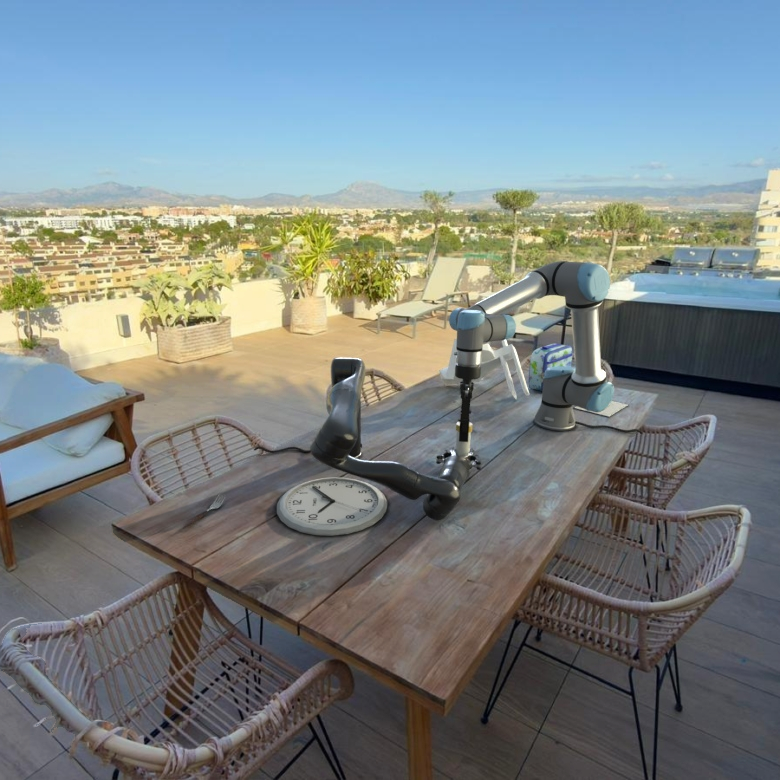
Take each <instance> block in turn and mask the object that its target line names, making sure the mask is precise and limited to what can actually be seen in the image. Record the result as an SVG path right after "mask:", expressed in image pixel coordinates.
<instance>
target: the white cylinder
mask: <svg viewBox="0 0 780 780" xmlns="http://www.w3.org/2000/svg"><path fill="white" fill-rule="evenodd" d="M471 436H472V432H470V433H469V434H468V442H460V441H459V432H458V431H456V439H455V440H456V441H455V442H456V443H455V446H456V455H458V456H464V455H465V454H469V451H470V449H471V439H472V438H471Z"/></svg>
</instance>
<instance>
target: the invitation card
mask: <svg viewBox="0 0 780 780" xmlns="http://www.w3.org/2000/svg"><path fill="white" fill-rule="evenodd" d="M628 406H629V404H627V403H623V402H618V401H614V400H611V402H610V404H609V405H608V406H607V408H606V409H604V410H603V411H601V412H593V411H587V410H586V409H583V408H580V407H577V406H574V407H573V409H575V410H581V411H584V412H587V413H593V414H596V415H600V416H604V417H608V418H609V417H611V416H613V415H614V414H616V413H617V412H619V411H621V410H623V409H624V408H626V407H628Z"/></svg>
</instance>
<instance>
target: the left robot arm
mask: <svg viewBox="0 0 780 780" xmlns="http://www.w3.org/2000/svg"><path fill="white" fill-rule="evenodd" d="M365 379H366V365H365V362H364V361H363V360H362V359H361V358H358V357H334V358H333V359H332V360H331V363H330V381H331V382H330V383H331V388H330V390H329V392H328V396H327V399H326V403H325V404H326V405H325V406H326V411H327V414H328V416H327V418H326V419H325V421H324V422H323V424H322V425H321V427H320V428H319V430H318V431H317V433H316V435H315V437H314V438H313V440H312V442H311V444H310V448H309V449H308V450H305V449H303V448H300V447H297V446H288V447H284V448H280V449H276V450H270V449H267V448H265V447H264V446H256V447H254V448H253V451H257V450H262V451H264V452H267V453H269V454H270V453H271V454H276V453H280V452H281V453H282V452H284V451H288V450H297V451H300V452H302V453H306V454H309V453H311V456H312V457H313V458H314V459H315V460H316V461H318V462H319V463H321V464H322V465H324V466H326V467H328V468H331V469H334V470H336V471H340V472H343V473H346V474H348V475H350V476H354V477H356V478H360V479H363V480H366V481H369V482H373V483H375V484H378V485H380V486H382V487H384V488H386V489H389V490H390V491H392V492H394V493H396V494H399V495H400V496H402V497H404V498H406V499H408V500H409V501H416V500H418V499H419V498H421V497H422V496H424V495H426V497H425V498H424V499H423V502H422V509H423V512H424V514H425V515H426V517H428V518H429V519H430V520H433V521H435V522H436V521H437V522H439V521H443V520H444V519H446V518H447V517H448V516H449V514H450V513H451V512H452V511H453V510H454V509H455V507H456V506H457V505H458V504H459V502H460V501H461V498H462V493H461V491H462V488H463V486H464V484H465V483H466V481H467V478H468V475H469V472H470V470H472V468H475V469H476V470H477V471H481V470H482V460H481V457H480V455H479V454H478V453H475V452H476V451H475V449H474V448H472V447H470V451H469V454H465V455H464V456H458V455H456V445H455V446H453V447H452V448H451V449H450V450H448V449H444V450H443V451H441V452H439V453H438V454H437V455H436V458H435V460H436V461H435V463H436V465H441V464H442V466H441V468H440V470H439V472H438V476H437V477H436V476H431V475H427V474H423V473H421V472H418V471H417V470H414V469H412V468H411V467H409V466H407V465H405V464H403V463H400V462H397V461H392V460H365V459H360V457H361V456H362V449H363V444H362V427H361V426H362V400H361V399H362V389H363V386H364V383H365Z"/></svg>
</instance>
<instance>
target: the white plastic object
mask: <svg viewBox="0 0 780 780" xmlns="http://www.w3.org/2000/svg"><path fill="white" fill-rule="evenodd" d="M507 340H508V339H505V340H503V341H501V345H502V347H500V348H498V349H496V350H495V349H493V348H492V347H491V346H490V344H489V342H486V343H483V348H482V363H481V364H480V366H481V375H480V378H478V379H473V380H471V382H474V384H477V383H480V382H482V381H484V378H485V377H486V376H487V375H489V374H490V373H492V372H494V371H495V370H496V369H497V368H499V367H500V366H502V370H503V373H504V376H505V380H506V383H507V386H508V390H509V393H510V394H511V395H512V397H513V398H514V399H515V400H517V392H516V391H517V390H516V388H515V385H514V381H513V378H512V375H511V371H510V369H509V365H508V361H510V360H513V363H514V366H515V369H516V372H517V376H518V380H519V382H520V385H521V389H522V391H523V393H524V395H525V396H526V397H528V396H531V395H530V390H529V386H528V384H527V381H526V378H525V375H524V371H523V369H522V368H523V367H522V366H521V362H520V359H519V355H518V352H517V349H516V347H515V346H514V345H513V343H511V344H508V341H507ZM456 347H457V338H454V340H453V344H452V349H451V353H450V357H449V362H448V366H446V367H444V368H442V369H440V370H439V371H438V372H439V376H440V381H442V383H443V384H444V385H445V386H449V385H458V384H459V385H460V381H463V379H460V378H457V377H456V376H455V365H456V364H457V362H456V356H457V355H454V352H457V351H456Z"/></svg>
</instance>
